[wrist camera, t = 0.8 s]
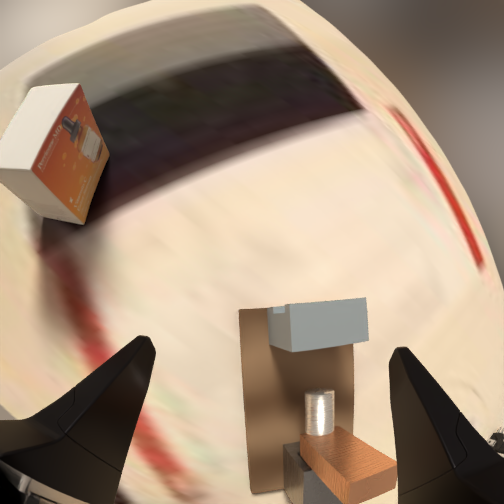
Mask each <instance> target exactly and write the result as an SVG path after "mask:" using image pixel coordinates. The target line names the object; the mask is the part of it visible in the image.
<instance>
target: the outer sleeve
mask: <svg viewBox="0 0 504 504" xmlns="http://www.w3.org/2000/svg"><path fill="white" fill-rule="evenodd" d="M283 475H284V490H285V492H286V493H287V495H288V497H289V498H290V500H291V502H292V503H293V504H343V503H342V502H341V501H340V500H339V499H338V498H337V497H336V495H335V494H334V493H333V492H332V491H331V490H330V489H329V488H328V487H327V486H326V485H325V483H324V482H323V481H322V480H321V479H320V478H319V477H318V476H317V474H316V473H315V472H314V471H313V470H312V469H311V467H308V465H307V464H306V463H305V460H304V459H303V458H302V457H301V456H300V441H298V442H293V443H288V444H283Z"/></svg>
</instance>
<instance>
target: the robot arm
mask: <svg viewBox="0 0 504 504" xmlns="http://www.w3.org/2000/svg"><path fill="white" fill-rule="evenodd" d="M155 356H156V350H155V348H154V346H153V343H152V341H151V339H150V338H149V337H148V336H143V335H139V336H137V337H136V338H135V339H133V340H132V341H131V342H130V343H128V344H127V345H126V346H125V347H123V348H122V349H121V350H120V351H118V352H117V353H116V354H115V355H113V356H112V357H111V358H110V359H108V360H107V361H106V362H105V363H103V364H102V365H101V366H100V367H98V368H97V369H96V370H95V371H93V372H92V373H91V374H90V375H88V376H87V377H86V378H85V379H83V380H82V381H81V382H80V383H78V384H77V385H76V387H73V388H72V389H71V390H70V391H68V392H67V393H66V394H64V395H63V396H62V397H61V398H59V399H58V400H56V401H55V402H53V403H52V404H50V405H49V406H47V407H46V408H44V409H43V410H41V411H39V412H38V413H36V414H35V415H33V416H31V417H29V418H27V419H22V420H0V504H114V501H115V497H116V493H117V489H118V485H119V482H120V478H121V474H122V470H123V467H124V463H125V460H126V457H127V453H128V450H129V446H130V443H131V440H132V437H133V433H134V430H135V427H136V424H137V421H138V418H139V415H140V411H141V408H142V405H143V402H144V399H145V396H146V393H147V390H148V387H149V383H150V378H151V374H152V369H153V365H154V360H155ZM389 379H390V403H391V411H392V419H393V427H394V436H395V447H396V459H397V475H398V504H504V457H502V456H501V455H499V454H498V453H497V452H496V451H495V450H494V449H493V448H492V447H491V446H490V445H489V444H488V442H487V441H486V440H485V439H484V438H483V437H482V436H481V435H480V434H479V433H478V432H477V431H476V430H475V428H474V427H473V426H472V425H471V424H470V423H469V421H468V420H467V419H466V418H465V416H464V415H463V414H462V412H460V410H459V409H458V407H457V406H456V405H455V404H454V402H453V401H452V400H451V399H450V397H449V396H448V395H447V394H446V392H445V391H444V390H443V389H442V388H441V386H440V385H439V384H438V383H437V381H436V380H435V379H434V378H433V377H432V375H431V374H430V373H429V372H428V371H427V369H426V368H425V367H424V366H423V365H422V364H421V362H420V361H419V360H418V359H417V358H416V357H415V355H414V354H413V353H412V352H411V351H410V350H409V348H407V347H397V348H396V349H395V350H394V352H393V355H392V357H391V359H390V361H389Z"/></svg>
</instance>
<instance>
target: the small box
mask: <svg viewBox="0 0 504 504" xmlns="http://www.w3.org/2000/svg"><path fill="white" fill-rule="evenodd" d="M108 157H109V152H108V150H107V147H106V145H105V143H104V141H103V138H102V136H101V134H100V132H99V129H98V127H97V125H96V122H95V120H94V118H93V115H92V113H91V110H90V108H89V105H88V103H87V100H86V98H85V95H84V93H83V90H82V87H81V85H80V84H79V83H73V84H57V85H47V86H38V87H32V88H31V89H30V91H29V92H28V94H27V96H26V98H25V99H24V101H23V102H22V104H21V105H20V107H19V109H18V110H17V112H16V113H15V115H14V117H13V118H12V120H11V122H10V123H9V125H8V127H7V129H6V130H5V132H4V134H3V136H2V137H1V139H0V182H1V183H2V184H3V185H4V186H5V187H7V188H8V189H9V190H10V191H11V192H12V193H14V194H15V195H16V196H17V197H18V198H20V199H21V200H22V201H23V202H24V203H26V204H27V205H28V206H29V207H30V208H32V209H33V210H34V211H35V212H37V213H38V214H39V215H40V216H42V217H46V218H51V219H56V220H61V221H66V222H71V223H76V224H81V225H84V223H85V220H86V217H87V213H88V209H89V206H90V203H91V200H92V197H93V194H94V192H95V189H96V187H97V184H98V181H99V179H100V176H101V174H102V171H103V169H104V166H105V164H106V162H107V160H108Z"/></svg>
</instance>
